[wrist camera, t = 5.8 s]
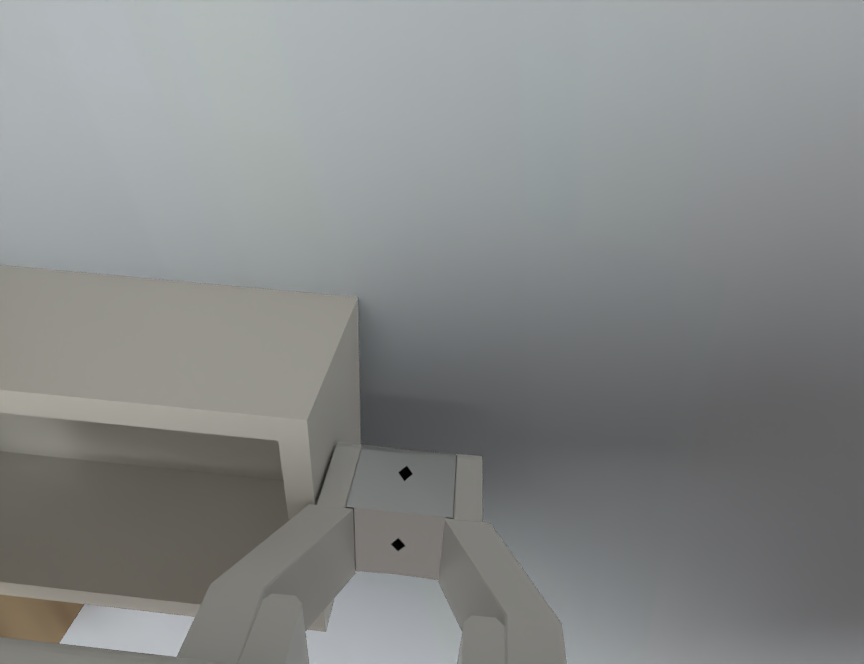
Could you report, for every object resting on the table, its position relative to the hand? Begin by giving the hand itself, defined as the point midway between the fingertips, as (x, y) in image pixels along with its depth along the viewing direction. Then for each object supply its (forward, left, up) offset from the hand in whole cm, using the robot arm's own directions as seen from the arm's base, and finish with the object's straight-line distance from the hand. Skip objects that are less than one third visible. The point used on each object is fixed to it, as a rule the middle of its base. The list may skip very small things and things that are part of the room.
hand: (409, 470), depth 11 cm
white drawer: (+8, 0, -2) cm, 9 cm away
